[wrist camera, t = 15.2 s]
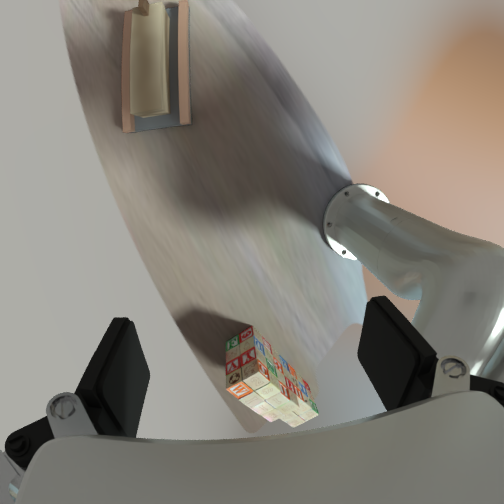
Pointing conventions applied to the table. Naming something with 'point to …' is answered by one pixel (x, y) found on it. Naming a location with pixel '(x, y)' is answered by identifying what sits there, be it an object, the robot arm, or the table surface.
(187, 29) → the jig cradle
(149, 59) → the tapered cream block
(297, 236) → the table surface
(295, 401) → the stack of blocks
